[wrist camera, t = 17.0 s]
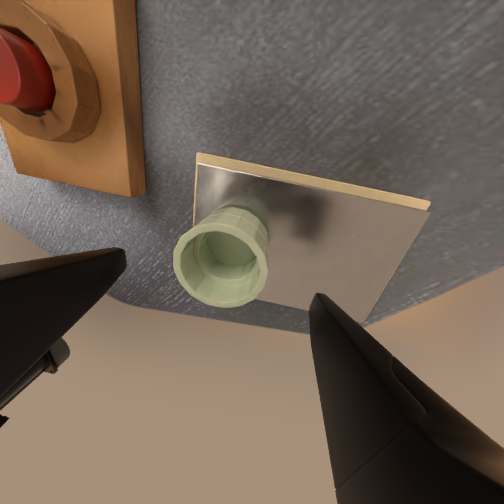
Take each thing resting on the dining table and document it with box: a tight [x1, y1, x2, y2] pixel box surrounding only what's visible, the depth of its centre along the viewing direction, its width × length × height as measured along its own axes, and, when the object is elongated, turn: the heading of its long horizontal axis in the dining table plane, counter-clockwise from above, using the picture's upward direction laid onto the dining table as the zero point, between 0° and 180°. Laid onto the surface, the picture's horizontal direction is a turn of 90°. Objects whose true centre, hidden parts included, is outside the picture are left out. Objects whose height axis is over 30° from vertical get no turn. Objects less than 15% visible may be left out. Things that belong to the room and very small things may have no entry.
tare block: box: [0, 0, 146, 198], centre depth 12 cm, size 12×9×4 cm
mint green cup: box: [173, 207, 270, 308], centre depth 11 cm, size 5×5×4 cm
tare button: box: [0, 28, 56, 112], centre depth 10 cm, size 3×3×2 cm
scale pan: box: [194, 163, 431, 323], centre depth 13 cm, size 9×14×1 cm, turn 79°
